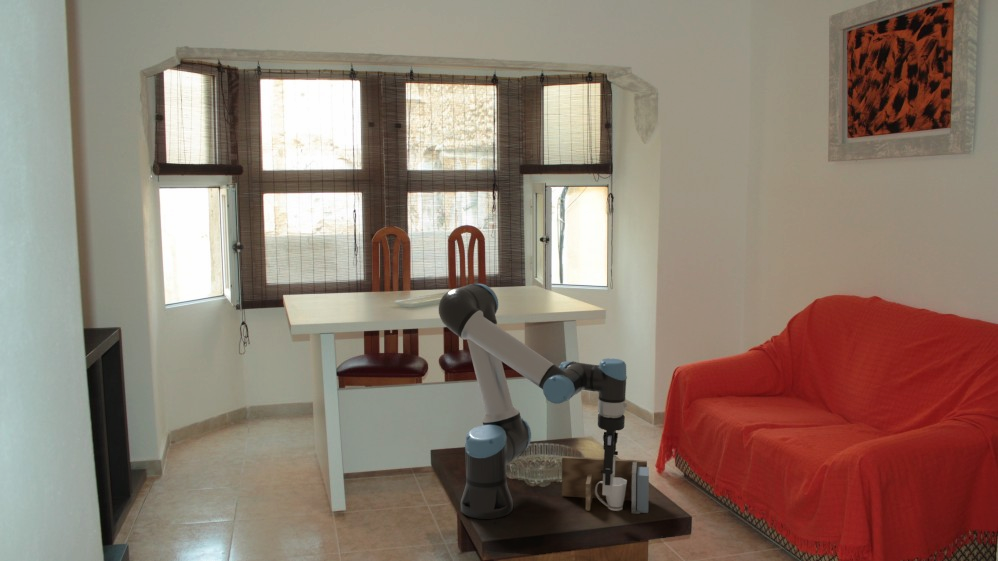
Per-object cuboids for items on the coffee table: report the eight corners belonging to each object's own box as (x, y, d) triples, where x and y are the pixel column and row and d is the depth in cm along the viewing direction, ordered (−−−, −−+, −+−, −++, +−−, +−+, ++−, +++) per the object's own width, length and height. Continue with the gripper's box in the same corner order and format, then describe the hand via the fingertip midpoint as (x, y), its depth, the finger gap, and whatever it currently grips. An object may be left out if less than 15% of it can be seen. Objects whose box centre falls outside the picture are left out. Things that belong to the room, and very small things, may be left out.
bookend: (631, 513, 236) (631, 472, 234) (632, 500, 244) (632, 461, 243) (639, 513, 235) (640, 473, 234) (640, 501, 244) (641, 462, 242)
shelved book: (636, 512, 236) (637, 475, 235) (637, 502, 243) (637, 466, 242) (648, 512, 236) (648, 475, 234) (648, 503, 243) (648, 467, 241)
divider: (585, 510, 238) (585, 483, 237) (588, 499, 246) (588, 473, 245) (589, 510, 238) (590, 483, 237) (592, 499, 246) (592, 473, 245)
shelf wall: (562, 496, 249) (562, 457, 247) (562, 494, 250) (562, 456, 248) (646, 501, 244) (646, 462, 242) (646, 499, 245) (647, 460, 244)
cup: (621, 514, 235) (621, 487, 234) (589, 507, 240) (589, 480, 239) (631, 506, 240) (631, 479, 239) (601, 499, 246) (601, 473, 245)
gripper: (622, 428, 221) (619, 504, 224) (626, 402, 245) (623, 471, 248) (594, 426, 222) (592, 501, 225) (601, 400, 246) (598, 469, 249)
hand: (608, 485), depth 236 cm, fingers open, 13 cm apart
